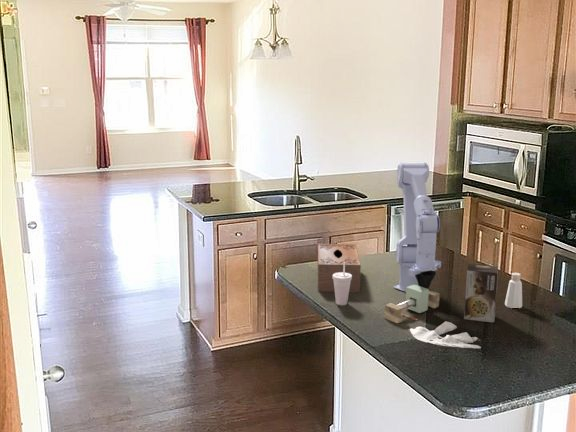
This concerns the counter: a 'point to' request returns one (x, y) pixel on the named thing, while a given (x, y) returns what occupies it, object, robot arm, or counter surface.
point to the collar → (418, 297)
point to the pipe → (408, 303)
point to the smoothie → (342, 286)
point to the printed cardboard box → (481, 293)
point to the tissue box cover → (338, 265)
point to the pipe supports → (398, 310)
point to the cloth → (449, 340)
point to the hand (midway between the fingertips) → (423, 292)
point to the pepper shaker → (514, 292)
